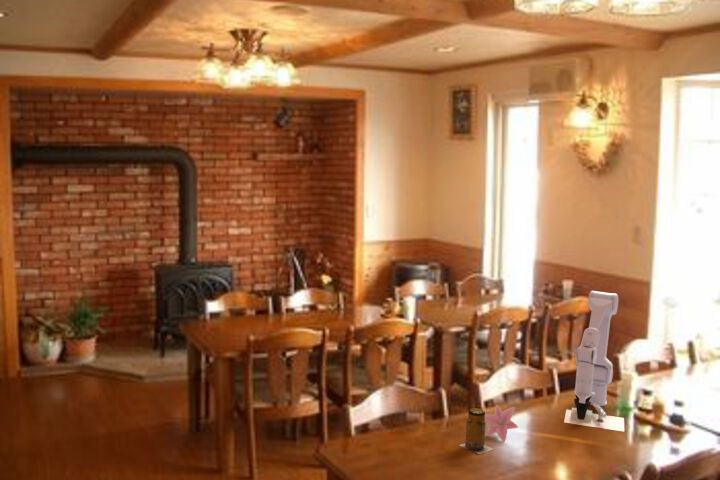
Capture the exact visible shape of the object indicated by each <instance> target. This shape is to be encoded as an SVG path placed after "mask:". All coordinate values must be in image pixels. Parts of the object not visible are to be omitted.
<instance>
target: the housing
mask: <svg viewBox="0 0 720 480" xmlns="http://www.w3.org/2000/svg"><path fill="white" fill-rule="evenodd" d="M571 410H572V409H566V410H565V415H564V420H563V421H564V422H563V423H565V424H567V423H568V424H571V425H580V426H583V427H584V426H586V427H589V428H590V427H591V428H592V427H593V428H597V429H599V428H600V429H604V430H612V431H618V432H623V433H624V432H625V418H624V417H619V416H613V415H607V414H606V418H604V417H603V421H598V414H599V413H594V412H592V419H591V422H588V421H581V420H574V419H571Z"/></svg>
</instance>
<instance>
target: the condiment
mask: <svg viewBox="0 0 720 480" xmlns="http://www.w3.org/2000/svg"><path fill="white" fill-rule="evenodd" d="M485 415H486V412H485V410H483V409H481V408H470V409H468V413H467V418H466V423H465V425H466V426H465V439H464V443H462V444H459V445H458V446H460V447H461V448H463V449H465V450H469V451H471V452H473V453H474V454H475V453H476V454H478V455H481V454H484V453H488V452H489V451H493V450H494V448H492V447H490V446H488V445H486V444H485V441H486V440H485V439H486V437H485V436H486V425H487V423H486V420H485Z"/></svg>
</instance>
